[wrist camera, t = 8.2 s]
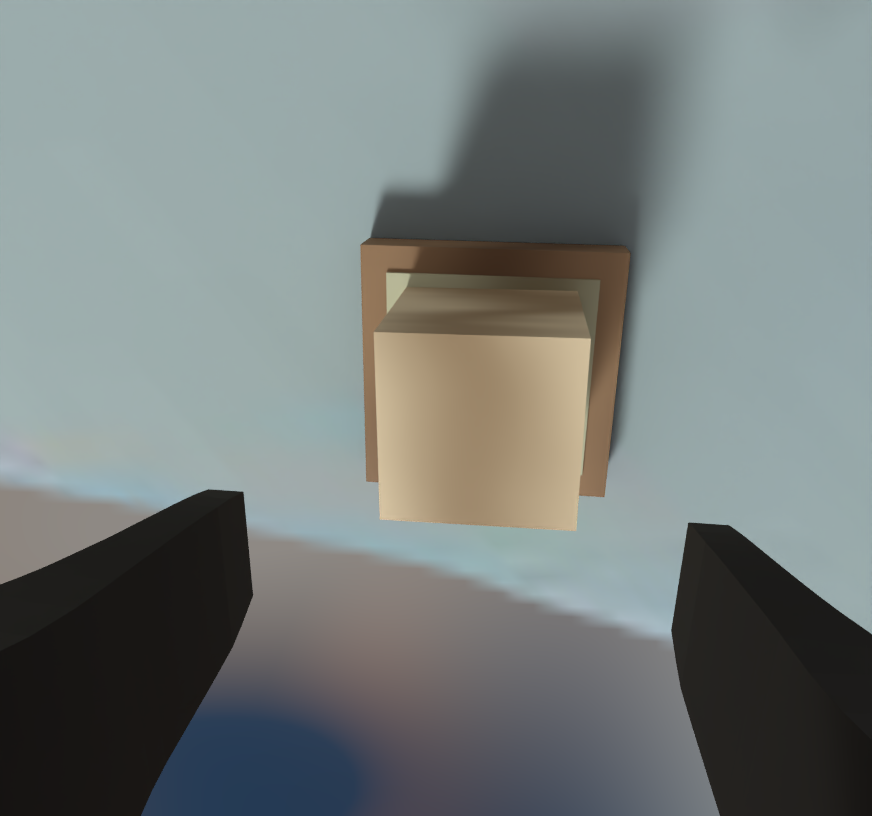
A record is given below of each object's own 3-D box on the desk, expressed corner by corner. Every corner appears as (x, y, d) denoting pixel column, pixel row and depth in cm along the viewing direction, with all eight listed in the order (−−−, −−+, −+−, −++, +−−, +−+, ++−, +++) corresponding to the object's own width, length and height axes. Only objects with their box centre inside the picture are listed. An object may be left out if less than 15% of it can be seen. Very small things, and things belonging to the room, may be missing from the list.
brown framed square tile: (624, 245, 20) (630, 254, 19) (600, 478, 22) (604, 498, 21) (369, 237, 21) (359, 245, 19) (374, 464, 23) (365, 482, 22)
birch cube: (577, 291, 19) (591, 338, 15) (566, 448, 21) (575, 531, 17) (406, 286, 20) (373, 331, 16) (409, 441, 21) (379, 519, 17)
